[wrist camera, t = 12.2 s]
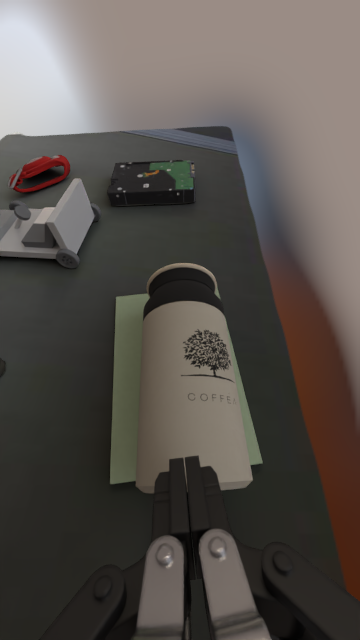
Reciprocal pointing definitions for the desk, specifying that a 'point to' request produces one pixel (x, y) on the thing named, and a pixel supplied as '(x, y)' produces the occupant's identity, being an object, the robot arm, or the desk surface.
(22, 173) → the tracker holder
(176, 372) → the travel mug
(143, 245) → the desk surface
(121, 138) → the desk surface
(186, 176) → the disk drive
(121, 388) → the mat
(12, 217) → the toy car
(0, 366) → the milkshake
